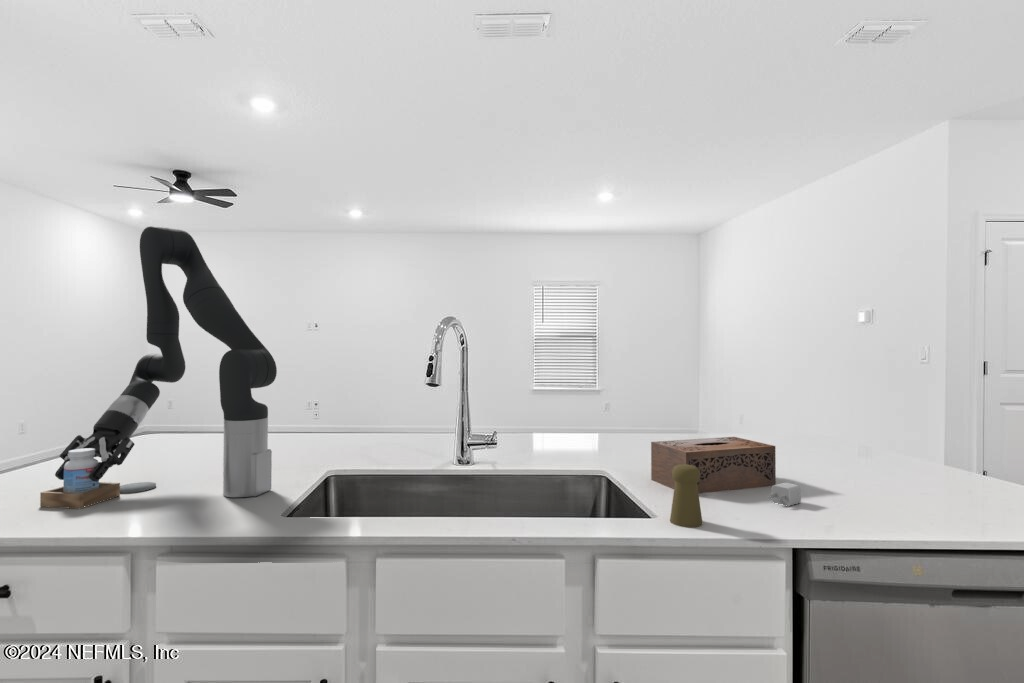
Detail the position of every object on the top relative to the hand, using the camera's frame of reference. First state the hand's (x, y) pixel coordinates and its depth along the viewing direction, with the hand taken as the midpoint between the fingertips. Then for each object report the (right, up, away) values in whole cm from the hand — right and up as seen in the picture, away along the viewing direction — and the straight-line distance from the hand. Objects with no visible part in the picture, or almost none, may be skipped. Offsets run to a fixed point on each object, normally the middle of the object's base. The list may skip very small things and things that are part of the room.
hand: (75, 478), depth 117 cm
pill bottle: (0, -5, +1) cm, 6 cm away
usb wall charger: (+153, -6, 0) cm, 153 cm away
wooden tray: (0, -5, +1) cm, 5 cm away
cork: (+128, -5, -12) cm, 129 cm away
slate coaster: (+5, -5, +12) cm, 14 cm away
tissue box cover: (+145, -6, +18) cm, 146 cm away
